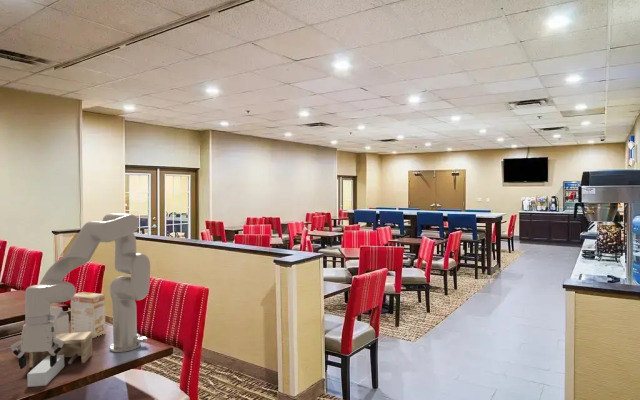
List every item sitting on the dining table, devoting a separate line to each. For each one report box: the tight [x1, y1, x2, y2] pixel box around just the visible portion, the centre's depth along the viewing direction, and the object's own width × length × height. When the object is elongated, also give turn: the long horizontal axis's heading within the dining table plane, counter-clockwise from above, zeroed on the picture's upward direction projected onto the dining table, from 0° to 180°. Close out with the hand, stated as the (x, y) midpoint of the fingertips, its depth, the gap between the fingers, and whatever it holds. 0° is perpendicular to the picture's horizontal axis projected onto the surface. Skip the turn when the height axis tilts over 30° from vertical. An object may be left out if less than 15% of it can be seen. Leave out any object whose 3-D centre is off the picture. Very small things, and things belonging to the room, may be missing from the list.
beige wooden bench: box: [28, 332, 93, 368], centre depth 171 cm, size 20×9×10 cm, turn 102°
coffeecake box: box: [70, 291, 106, 339], centre depth 201 cm, size 15×7×20 cm, turn 69°
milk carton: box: [50, 306, 70, 334], centre depth 182 cm, size 7×7×19 cm
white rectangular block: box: [26, 355, 65, 388], centre depth 157 cm, size 6×16×5 cm, turn 11°
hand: (38, 366), depth 151 cm, fingers open, 9 cm apart
